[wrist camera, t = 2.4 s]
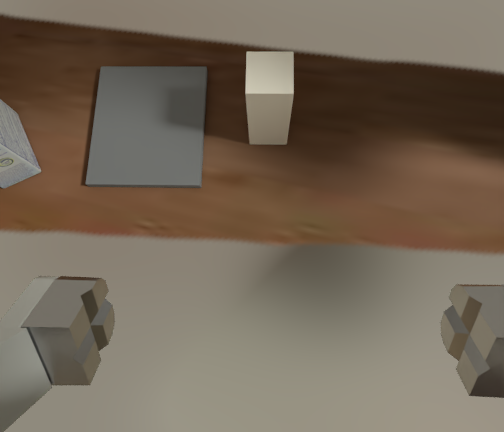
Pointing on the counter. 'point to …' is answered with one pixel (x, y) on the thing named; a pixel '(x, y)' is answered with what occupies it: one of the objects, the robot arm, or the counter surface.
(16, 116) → the medicine box
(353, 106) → the counter surface
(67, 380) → the robot arm
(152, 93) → the mat
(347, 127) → the counter surface
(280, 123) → the cream block
